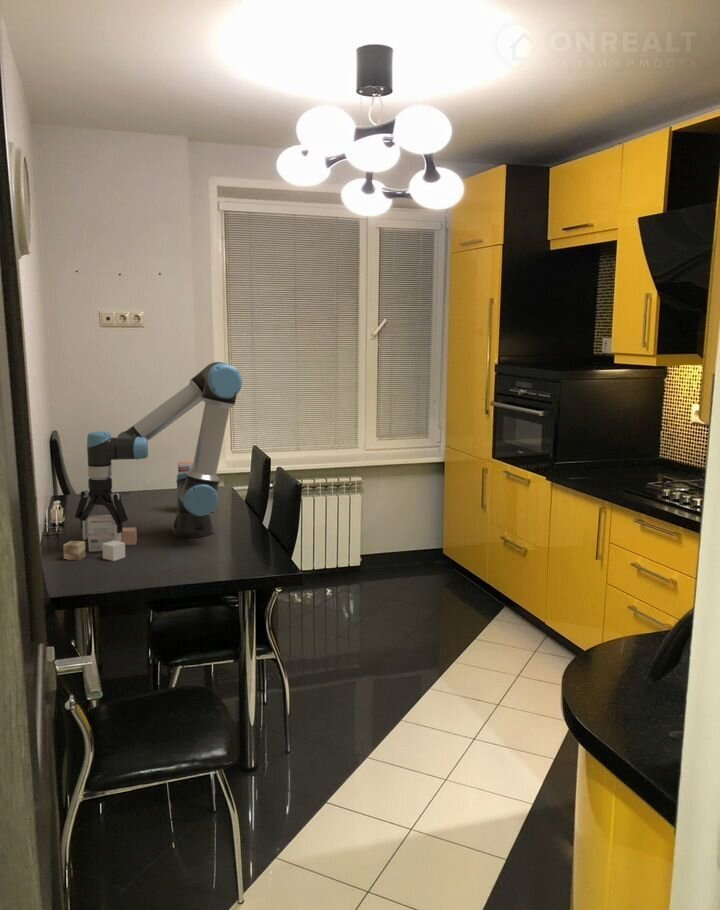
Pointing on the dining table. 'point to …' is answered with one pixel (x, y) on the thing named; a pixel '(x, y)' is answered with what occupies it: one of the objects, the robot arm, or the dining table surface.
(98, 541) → the ink box
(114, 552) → the off-white cube
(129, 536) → the terracotta cube
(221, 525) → the dining table surface
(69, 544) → the maple cube
